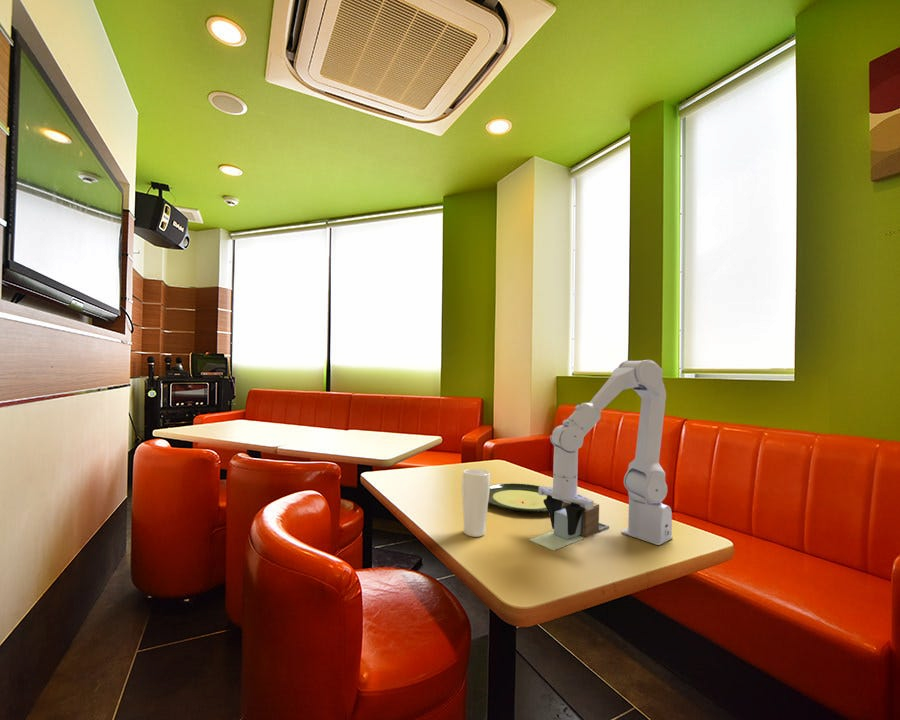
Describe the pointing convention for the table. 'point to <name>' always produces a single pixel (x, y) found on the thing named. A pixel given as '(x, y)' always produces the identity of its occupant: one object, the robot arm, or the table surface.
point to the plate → (509, 492)
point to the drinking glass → (475, 501)
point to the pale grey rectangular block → (565, 525)
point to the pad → (554, 540)
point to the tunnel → (589, 520)
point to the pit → (603, 527)
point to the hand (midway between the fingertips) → (563, 531)
